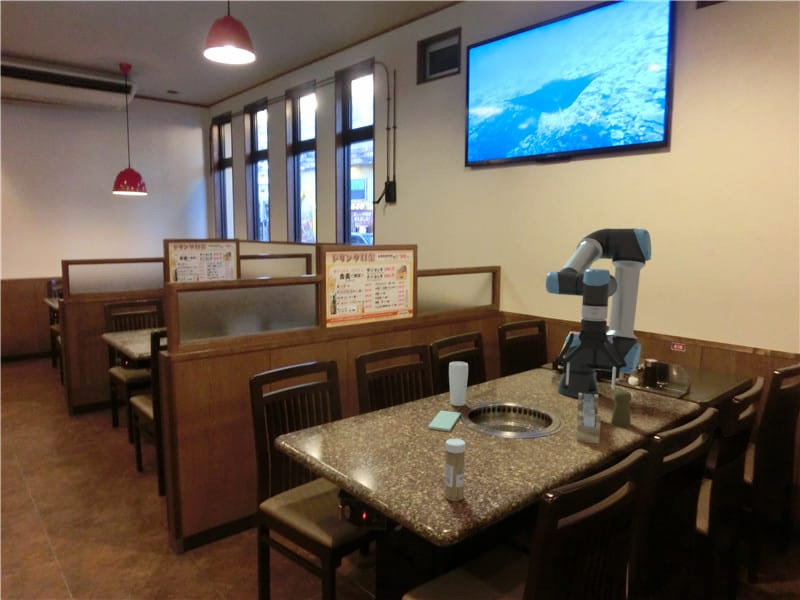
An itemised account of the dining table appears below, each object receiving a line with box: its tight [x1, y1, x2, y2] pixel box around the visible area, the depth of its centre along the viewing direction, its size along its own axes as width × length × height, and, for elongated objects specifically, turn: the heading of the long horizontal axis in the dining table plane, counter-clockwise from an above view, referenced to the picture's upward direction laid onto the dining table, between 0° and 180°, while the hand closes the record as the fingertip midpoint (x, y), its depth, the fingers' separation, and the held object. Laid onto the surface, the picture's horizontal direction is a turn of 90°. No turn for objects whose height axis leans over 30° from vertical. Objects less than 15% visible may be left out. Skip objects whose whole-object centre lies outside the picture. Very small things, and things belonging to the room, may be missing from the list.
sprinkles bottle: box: [444, 438, 466, 502], centre depth 123 cm, size 5×5×14 cm
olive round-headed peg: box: [610, 390, 632, 428], centre depth 173 cm, size 6×6×11 cm
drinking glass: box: [448, 361, 469, 407], centre depth 190 cm, size 7×7×15 cm
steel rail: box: [582, 393, 596, 427], centre depth 168 cm, size 24×3×3 cm, turn 161°
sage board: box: [427, 410, 462, 433], centre depth 173 cm, size 16×7×1 cm, turn 161°
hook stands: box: [576, 393, 602, 445], centre depth 168 cm, size 24×6×8 cm, turn 161°
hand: (589, 386), depth 167 cm, fingers open, 13 cm apart
